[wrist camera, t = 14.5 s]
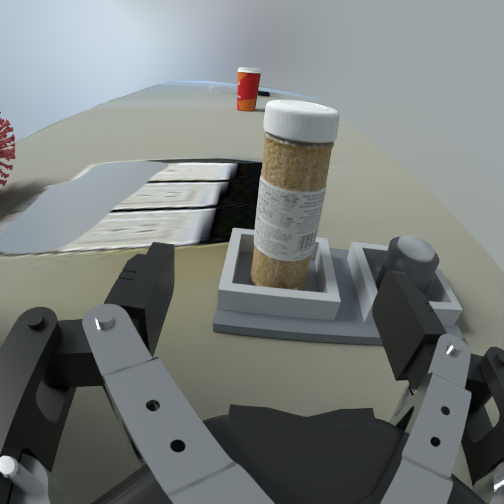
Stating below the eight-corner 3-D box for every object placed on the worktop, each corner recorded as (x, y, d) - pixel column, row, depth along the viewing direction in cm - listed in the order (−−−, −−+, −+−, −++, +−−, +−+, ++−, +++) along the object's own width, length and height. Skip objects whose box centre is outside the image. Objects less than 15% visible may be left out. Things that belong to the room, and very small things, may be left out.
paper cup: (241, 107, 101) (244, 67, 93) (262, 110, 99) (266, 69, 91) (229, 109, 95) (232, 67, 87) (251, 112, 93) (255, 69, 85)
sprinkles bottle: (284, 257, 28) (307, 99, 21) (317, 288, 25) (356, 113, 18) (237, 271, 26) (251, 97, 19) (269, 307, 23) (298, 110, 15)
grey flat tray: (213, 331, 22) (213, 269, 19) (232, 244, 31) (235, 192, 28) (459, 345, 21) (490, 295, 18) (420, 265, 31) (438, 221, 28)
